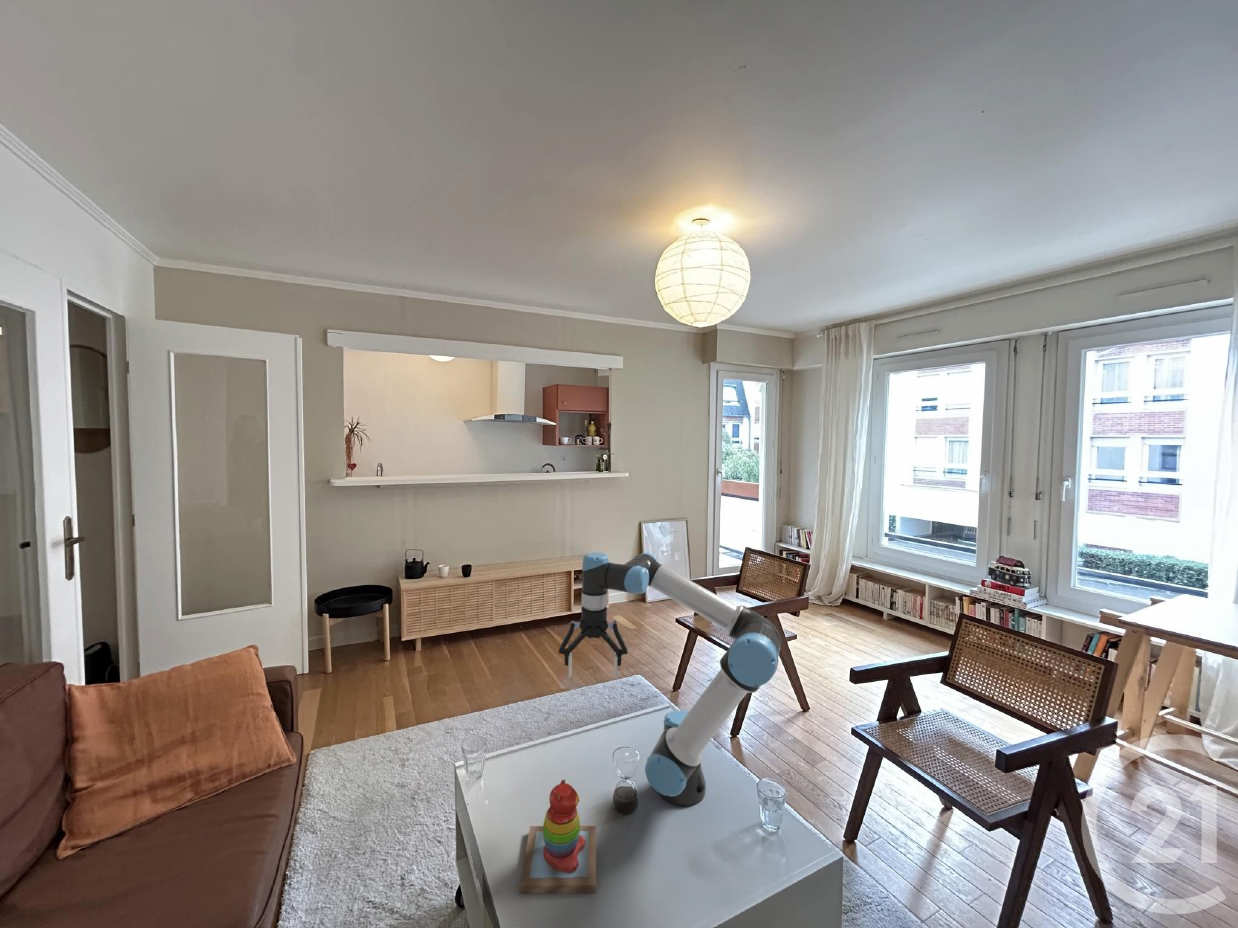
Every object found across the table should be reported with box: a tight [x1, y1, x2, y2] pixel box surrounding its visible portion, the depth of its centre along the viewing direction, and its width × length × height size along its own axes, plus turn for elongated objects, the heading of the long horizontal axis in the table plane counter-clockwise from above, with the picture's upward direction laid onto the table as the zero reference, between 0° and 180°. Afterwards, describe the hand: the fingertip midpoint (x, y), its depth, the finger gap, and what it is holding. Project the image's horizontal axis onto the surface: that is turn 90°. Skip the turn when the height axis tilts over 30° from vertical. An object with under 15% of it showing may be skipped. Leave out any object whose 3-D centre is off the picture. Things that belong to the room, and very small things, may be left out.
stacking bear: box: [542, 779, 585, 873], centre depth 129 cm, size 11×10×18 cm
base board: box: [519, 825, 597, 895], centre depth 130 cm, size 18×18×2 cm
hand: (592, 675), depth 151 cm, fingers open, 13 cm apart
